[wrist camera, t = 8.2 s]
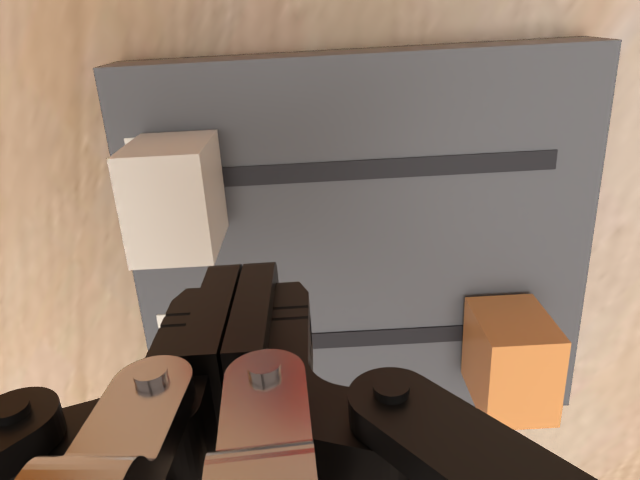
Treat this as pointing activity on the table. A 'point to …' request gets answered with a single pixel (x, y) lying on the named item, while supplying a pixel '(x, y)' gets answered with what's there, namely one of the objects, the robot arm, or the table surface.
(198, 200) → the fader
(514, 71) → the console
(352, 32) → the table surface
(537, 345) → the fader
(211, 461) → the robot arm
